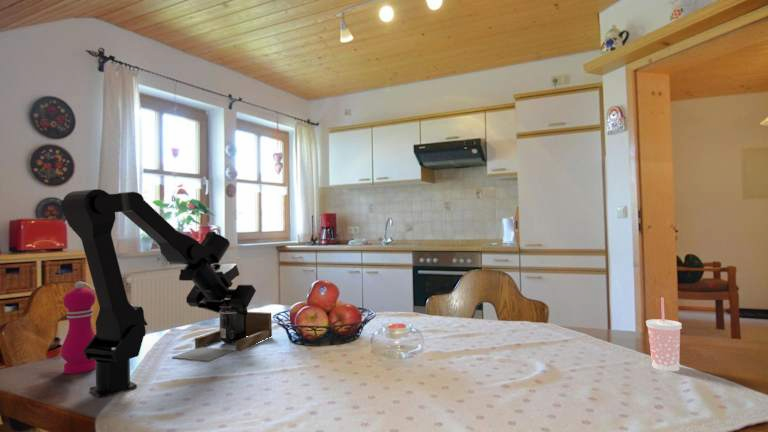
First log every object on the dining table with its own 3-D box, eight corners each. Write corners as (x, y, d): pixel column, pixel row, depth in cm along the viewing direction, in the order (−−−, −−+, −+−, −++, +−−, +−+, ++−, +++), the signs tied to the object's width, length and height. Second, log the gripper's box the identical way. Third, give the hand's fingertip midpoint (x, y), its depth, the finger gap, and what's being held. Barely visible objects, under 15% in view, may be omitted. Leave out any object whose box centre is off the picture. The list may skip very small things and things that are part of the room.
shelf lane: (239, 351, 110) (239, 323, 110) (195, 347, 115) (194, 320, 115) (271, 337, 123) (271, 312, 123) (230, 334, 128) (229, 310, 128)
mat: (208, 361, 102) (208, 360, 102) (172, 358, 106) (172, 357, 106) (234, 350, 111) (234, 349, 111) (199, 348, 115) (199, 346, 115)
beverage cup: (652, 360, 92) (649, 294, 92) (687, 366, 88) (683, 296, 88) (644, 368, 88) (640, 298, 88) (680, 374, 83) (676, 301, 84)
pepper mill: (80, 375, 95) (78, 283, 96) (52, 374, 97) (51, 283, 97) (107, 365, 102) (105, 279, 103) (81, 364, 104) (79, 279, 104)
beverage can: (236, 337, 123) (235, 294, 124) (251, 340, 119) (250, 295, 120) (214, 342, 118) (213, 297, 118) (229, 345, 114) (229, 299, 114)
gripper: (250, 253, 112) (276, 290, 122) (193, 254, 119) (222, 289, 129) (230, 288, 105) (259, 325, 115) (170, 287, 111) (203, 321, 121)
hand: (236, 313), depth 120 cm, fingers closed on beverage can, 7 cm apart
